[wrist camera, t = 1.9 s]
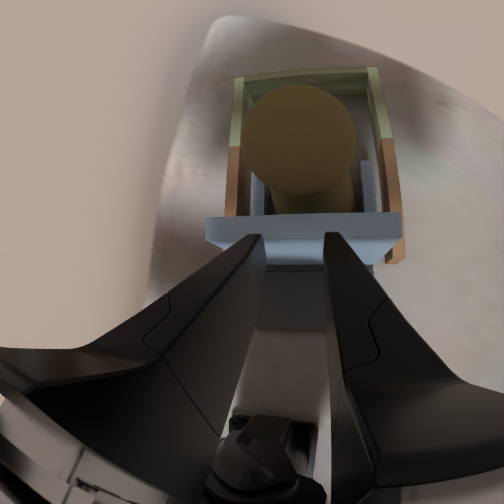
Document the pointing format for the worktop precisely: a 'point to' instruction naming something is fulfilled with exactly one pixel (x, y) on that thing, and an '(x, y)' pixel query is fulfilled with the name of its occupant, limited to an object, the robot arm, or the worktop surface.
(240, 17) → the worktop surface
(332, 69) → the track
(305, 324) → the pit mat
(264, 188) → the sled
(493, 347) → the worktop surface
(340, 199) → the cork
